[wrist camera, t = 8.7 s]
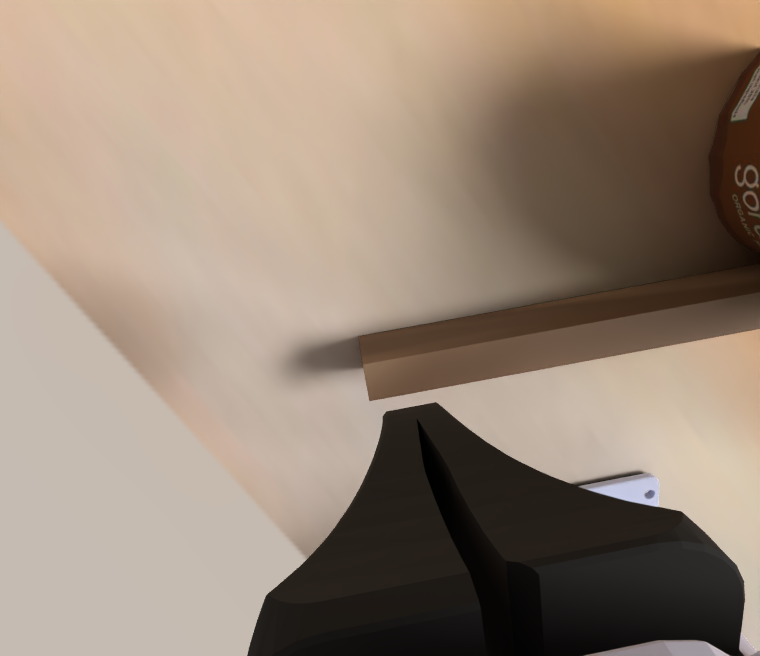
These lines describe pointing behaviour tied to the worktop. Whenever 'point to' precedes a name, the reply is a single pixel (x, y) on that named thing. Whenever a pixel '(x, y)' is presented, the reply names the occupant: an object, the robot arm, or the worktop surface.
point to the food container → (739, 160)
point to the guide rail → (560, 332)
